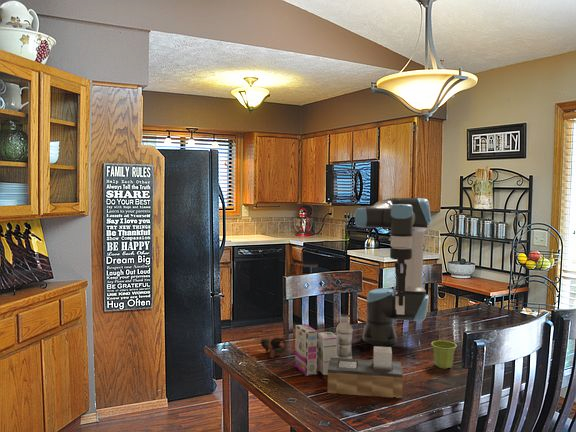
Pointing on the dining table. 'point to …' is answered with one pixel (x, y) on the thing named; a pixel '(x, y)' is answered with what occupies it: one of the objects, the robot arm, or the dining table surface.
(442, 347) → the plant pot
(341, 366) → the seated peg
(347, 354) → the plastic bottle
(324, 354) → the syrup box
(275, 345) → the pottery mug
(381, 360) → the peg
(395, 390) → the socket block
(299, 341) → the candy bar box
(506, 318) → the dining table surface
